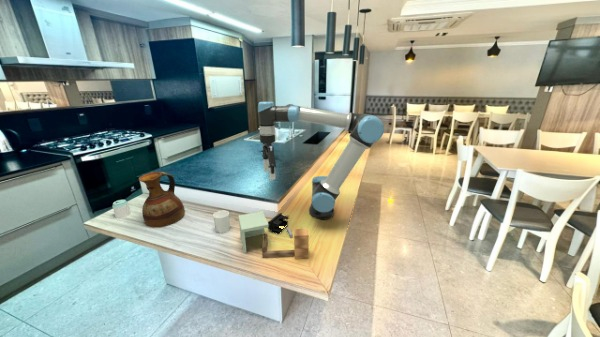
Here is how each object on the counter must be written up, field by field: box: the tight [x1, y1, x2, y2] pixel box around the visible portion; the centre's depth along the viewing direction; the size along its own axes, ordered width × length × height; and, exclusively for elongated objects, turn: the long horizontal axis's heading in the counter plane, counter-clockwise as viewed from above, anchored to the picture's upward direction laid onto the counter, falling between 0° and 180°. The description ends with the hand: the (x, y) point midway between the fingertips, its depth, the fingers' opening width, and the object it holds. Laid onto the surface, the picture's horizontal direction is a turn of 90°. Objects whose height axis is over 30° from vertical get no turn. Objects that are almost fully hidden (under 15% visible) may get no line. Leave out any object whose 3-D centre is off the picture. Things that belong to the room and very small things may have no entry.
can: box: [112, 199, 132, 219], centre depth 130 cm, size 7×7×12 cm
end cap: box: [267, 212, 289, 235], centre depth 122 cm, size 10×7×7 cm
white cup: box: [212, 209, 231, 234], centre depth 120 cm, size 8×8×10 cm
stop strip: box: [285, 226, 294, 239], centre depth 118 cm, size 1×7×2 cm, turn 20°
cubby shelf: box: [238, 210, 269, 254], centre depth 110 cm, size 12×13×12 cm
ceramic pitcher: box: [138, 171, 186, 228], centre depth 126 cm, size 20×20×30 cm
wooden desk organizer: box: [261, 228, 310, 260], centre depth 104 cm, size 20×12×12 cm, turn 93°
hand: (269, 175), depth 119 cm, fingers open, 13 cm apart
